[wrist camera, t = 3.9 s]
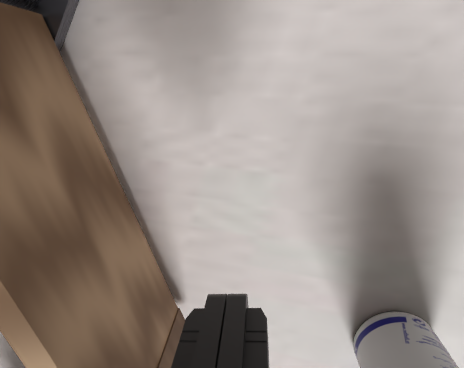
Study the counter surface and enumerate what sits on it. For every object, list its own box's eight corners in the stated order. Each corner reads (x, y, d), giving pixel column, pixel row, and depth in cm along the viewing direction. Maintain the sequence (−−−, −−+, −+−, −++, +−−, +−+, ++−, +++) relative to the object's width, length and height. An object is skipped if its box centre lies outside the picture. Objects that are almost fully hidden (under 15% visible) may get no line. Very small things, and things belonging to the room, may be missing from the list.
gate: (20, 23, 16) (-341, -58, 6) (43, 13, 15) (-298, -87, 6) (168, 327, 21) (97, 522, 12) (186, 323, 21) (128, 519, 12)
